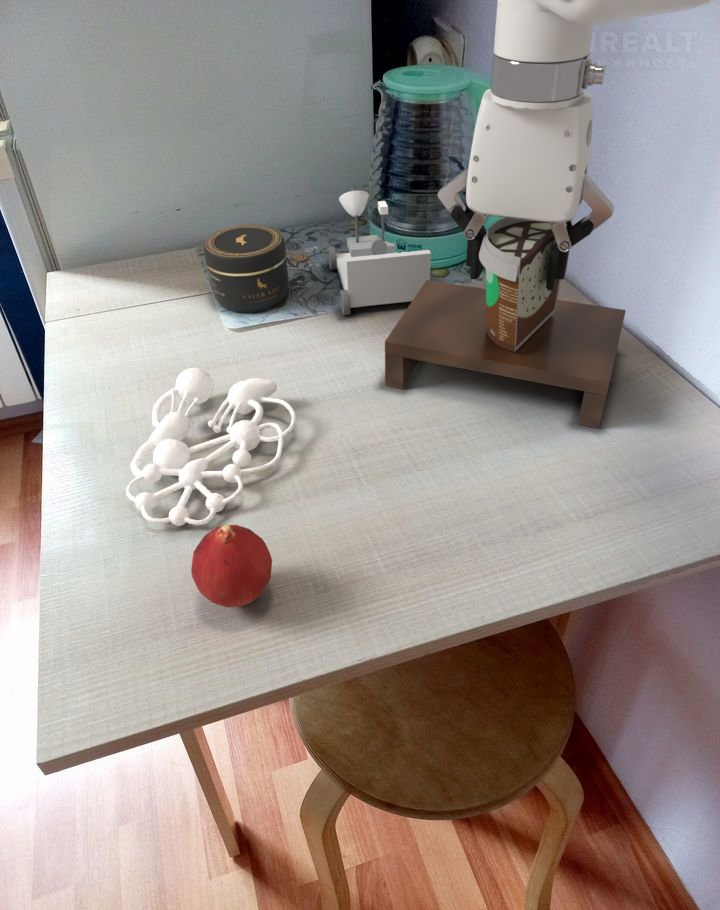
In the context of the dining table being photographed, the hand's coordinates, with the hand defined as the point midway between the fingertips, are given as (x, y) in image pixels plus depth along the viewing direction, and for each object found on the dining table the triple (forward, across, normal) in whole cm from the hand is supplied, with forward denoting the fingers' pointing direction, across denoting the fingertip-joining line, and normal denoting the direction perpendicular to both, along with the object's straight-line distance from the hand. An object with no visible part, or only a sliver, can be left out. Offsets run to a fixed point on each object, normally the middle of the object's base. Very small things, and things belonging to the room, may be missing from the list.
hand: (514, 277), depth 69 cm
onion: (+11, +12, +37) cm, 40 cm away
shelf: (+11, 0, 0) cm, 11 cm away
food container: (+5, 0, 0) cm, 5 cm away
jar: (+11, +34, -6) cm, 36 cm away
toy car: (+11, +20, -15) cm, 27 cm away
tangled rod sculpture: (+11, +22, +22) cm, 34 cm away
